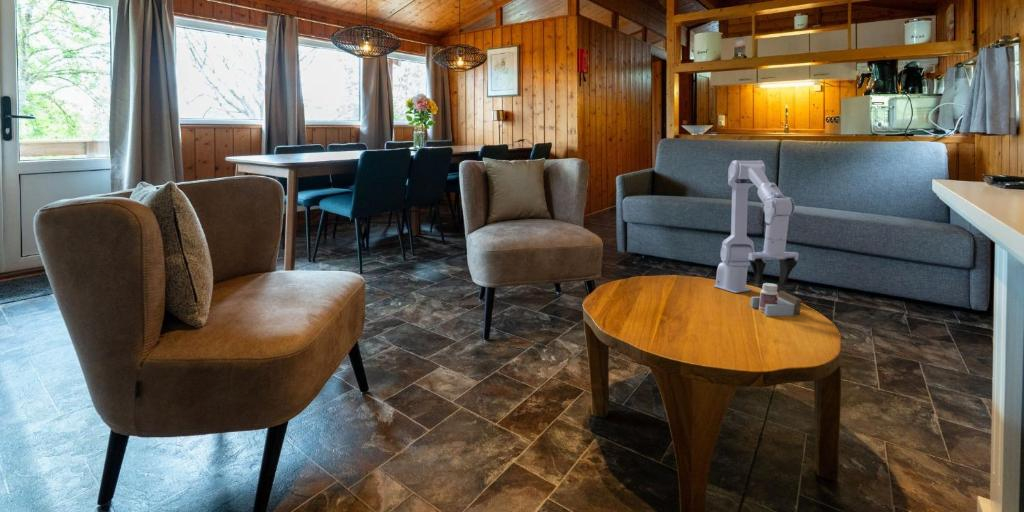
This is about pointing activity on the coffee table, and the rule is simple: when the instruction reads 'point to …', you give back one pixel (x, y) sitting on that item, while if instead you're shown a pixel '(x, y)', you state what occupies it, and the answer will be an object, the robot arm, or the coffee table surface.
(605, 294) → the coffee table surface
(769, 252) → the robot arm
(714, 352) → the coffee table surface
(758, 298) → the cradle
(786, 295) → the wall
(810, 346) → the coffee table surface
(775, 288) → the pill bottle
